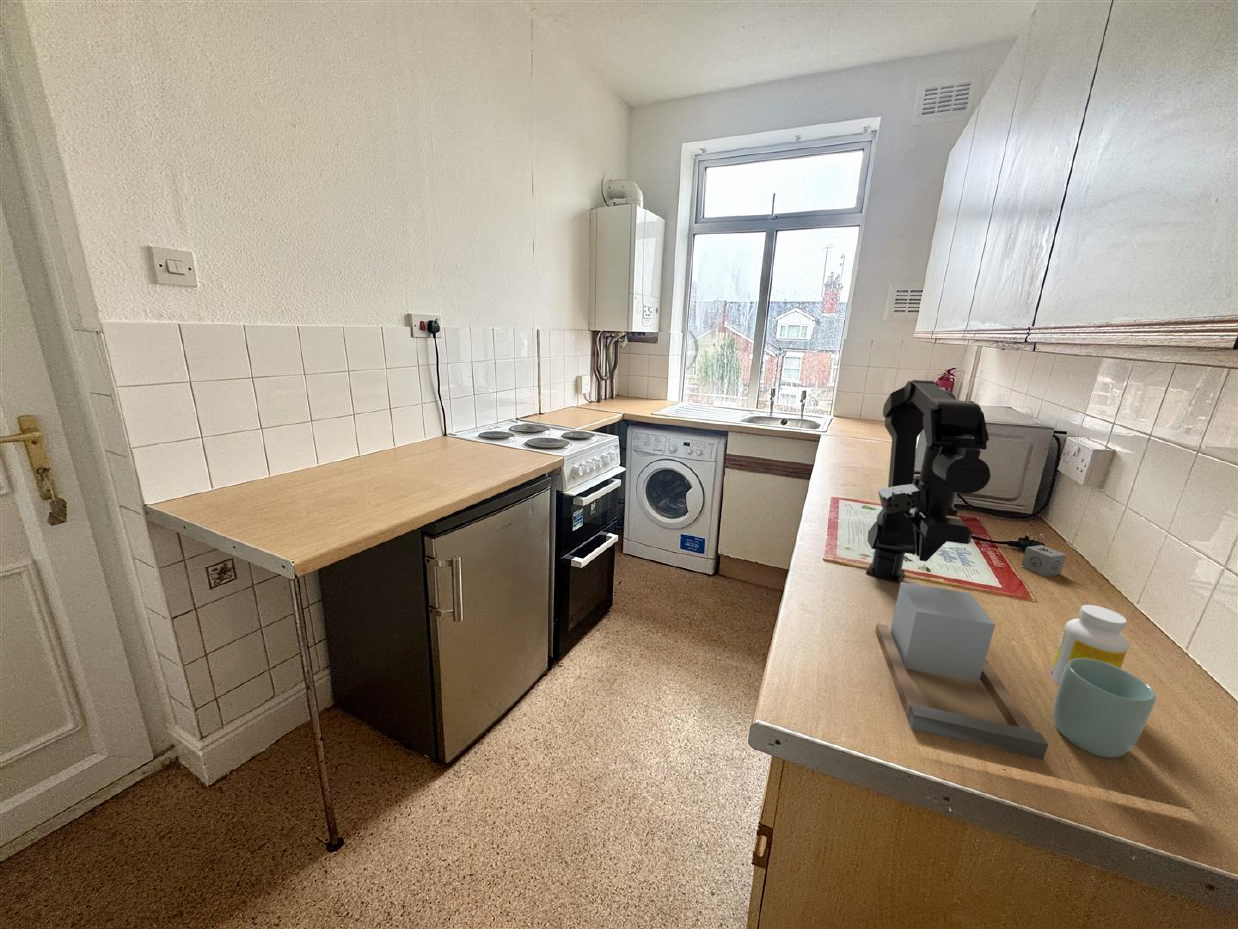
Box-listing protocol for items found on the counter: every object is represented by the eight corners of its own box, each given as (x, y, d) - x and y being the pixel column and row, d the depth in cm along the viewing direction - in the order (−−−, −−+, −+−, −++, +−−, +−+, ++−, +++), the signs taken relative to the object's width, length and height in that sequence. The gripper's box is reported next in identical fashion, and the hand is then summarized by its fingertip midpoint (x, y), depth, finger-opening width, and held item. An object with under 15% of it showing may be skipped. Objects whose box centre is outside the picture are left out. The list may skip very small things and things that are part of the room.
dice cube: (1035, 564, 111) (1041, 545, 110) (1060, 574, 107) (1066, 554, 105) (1020, 566, 110) (1026, 547, 108) (1044, 577, 105) (1051, 556, 104)
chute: (874, 635, 82) (877, 620, 81) (970, 653, 78) (974, 637, 77) (909, 733, 62) (914, 714, 61) (1041, 764, 58) (1048, 744, 57)
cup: (1146, 765, 58) (1174, 698, 56) (1094, 773, 57) (1121, 704, 54) (1078, 716, 66) (1100, 655, 63) (1031, 722, 64) (1051, 659, 62)
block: (889, 634, 81) (900, 582, 79) (956, 646, 79) (970, 593, 76) (903, 668, 73) (916, 611, 70) (978, 683, 70) (995, 624, 68)
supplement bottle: (1121, 709, 67) (1151, 631, 64) (1067, 700, 69) (1094, 623, 65) (1086, 677, 74) (1112, 604, 70) (1038, 670, 75) (1061, 598, 71)
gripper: (876, 457, 91) (862, 532, 96) (901, 485, 74) (883, 575, 78) (941, 463, 88) (924, 540, 93) (984, 494, 71) (960, 587, 75)
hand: (921, 558), depth 85 cm, fingers closed
